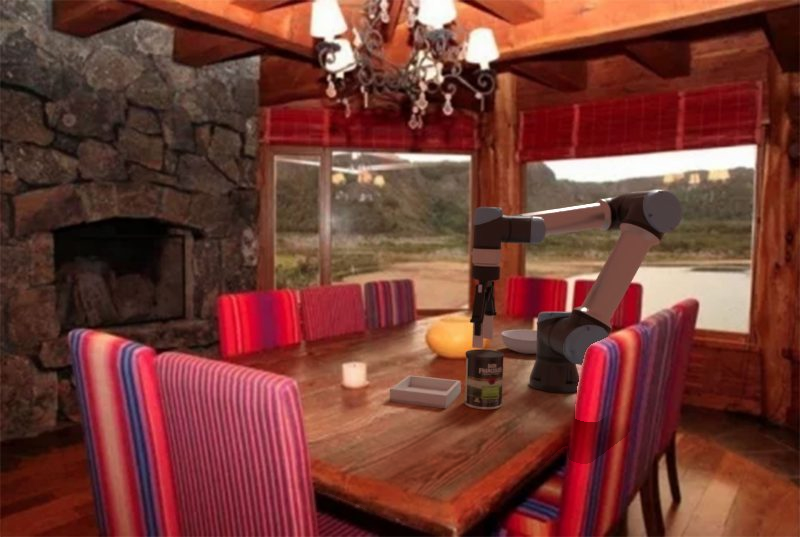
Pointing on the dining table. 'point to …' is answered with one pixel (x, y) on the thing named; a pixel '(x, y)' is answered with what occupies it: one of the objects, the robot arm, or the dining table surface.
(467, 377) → the coffee can
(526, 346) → the serving bowl
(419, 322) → the dining table surface
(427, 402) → the tray
